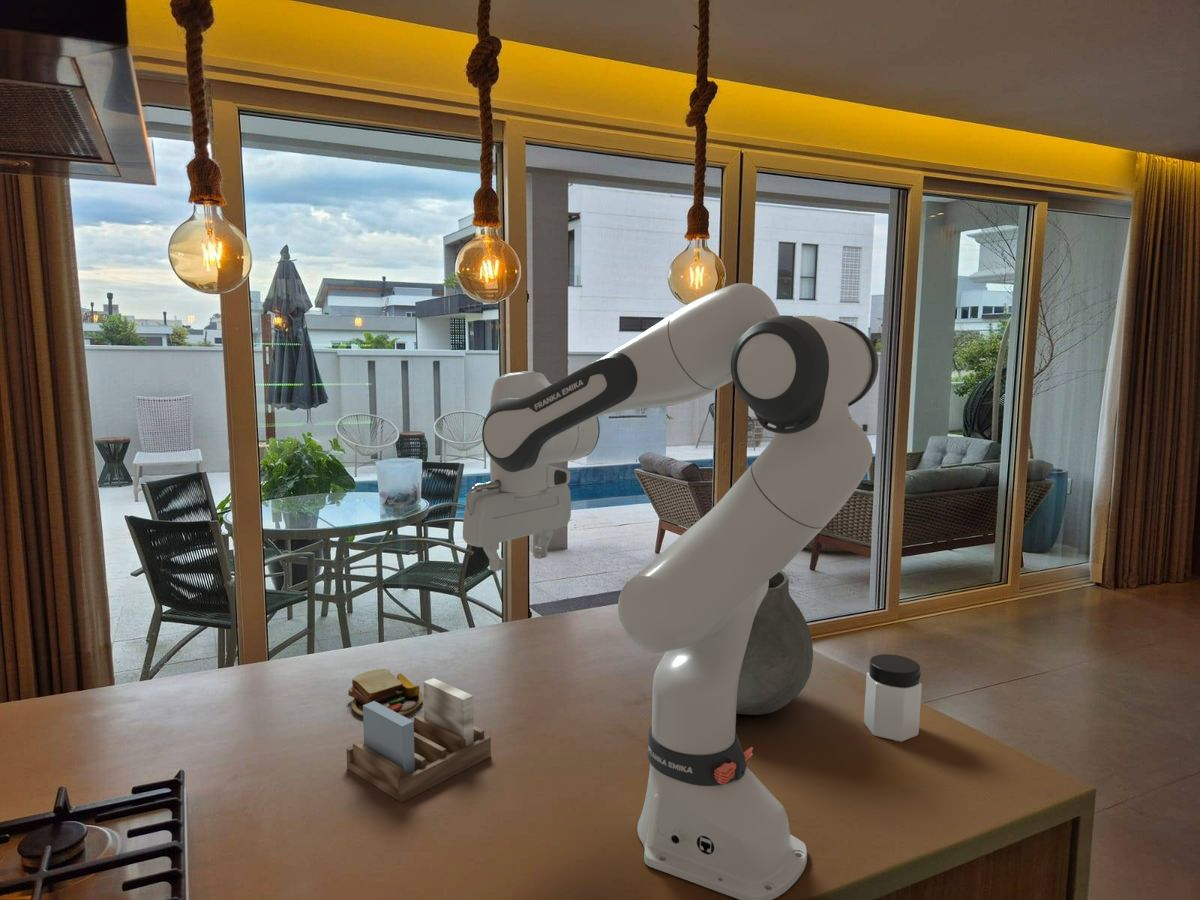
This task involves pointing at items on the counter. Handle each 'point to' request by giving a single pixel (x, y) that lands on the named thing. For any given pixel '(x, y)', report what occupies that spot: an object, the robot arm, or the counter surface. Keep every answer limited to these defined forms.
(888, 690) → the jar
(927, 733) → the counter surface
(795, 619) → the ceramic pot
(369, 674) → the toy sandwich meal
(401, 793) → the rack
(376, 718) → the grey upright panel
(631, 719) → the counter surface
